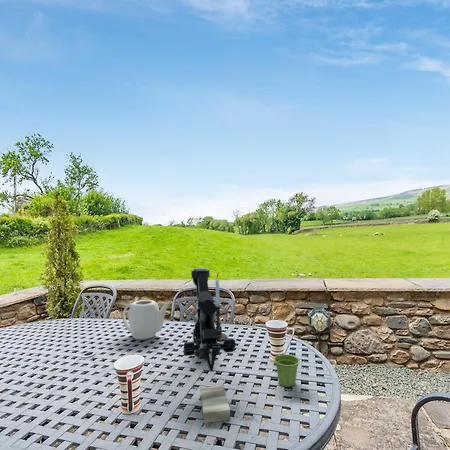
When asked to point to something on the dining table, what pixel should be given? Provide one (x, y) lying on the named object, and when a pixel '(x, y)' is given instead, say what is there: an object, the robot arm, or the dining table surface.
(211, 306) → the robot arm
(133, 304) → the white lidless teapot
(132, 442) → the dining table surface
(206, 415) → the tile
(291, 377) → the plant pot
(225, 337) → the candlestick
